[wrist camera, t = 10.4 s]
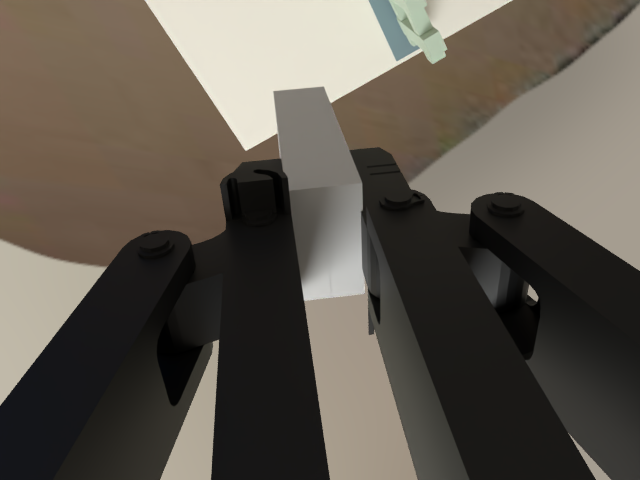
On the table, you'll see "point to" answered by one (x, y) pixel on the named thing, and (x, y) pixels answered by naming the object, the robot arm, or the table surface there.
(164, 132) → the table surface
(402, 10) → the fence gate
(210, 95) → the card
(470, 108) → the table surface
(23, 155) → the table surface
